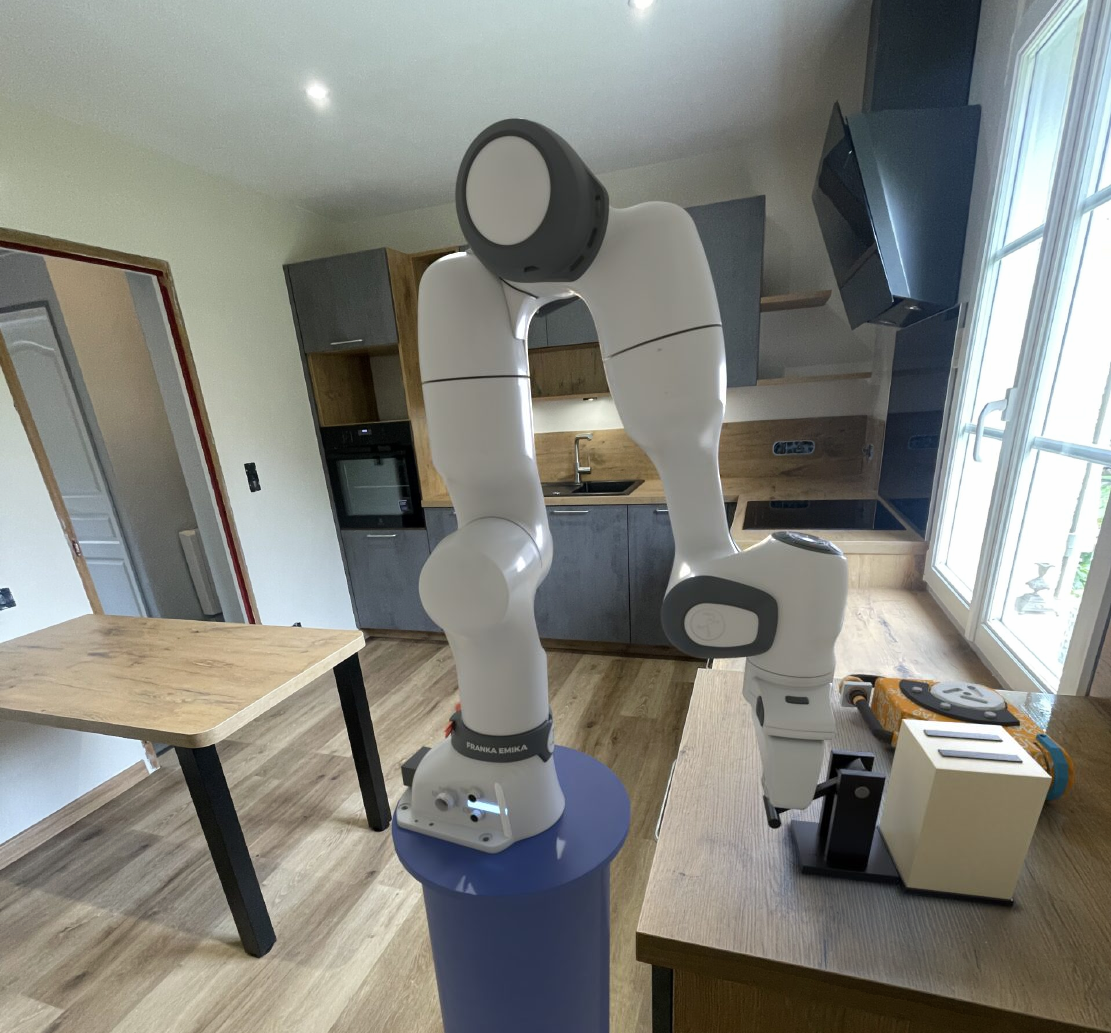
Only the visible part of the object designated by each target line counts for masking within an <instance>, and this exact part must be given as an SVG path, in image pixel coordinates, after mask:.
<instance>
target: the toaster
mask: <svg viewBox="0 0 1111 1033" xmlns="http://www.w3.org/2000/svg"><path fill="white" fill-rule="evenodd" d="M1051 780H1052V777H1051V776H1050V775H1049V774H1048V773H1047V772H1046V771H1045V770H1044V769H1043V768H1042V767H1041V766H1040V765H1039V764H1038V763H1037V762H1036V761H1035V760H1034V759H1033V758H1032V757H1031V756H1030V755H1029V754H1028V753H1027V752H1026V751H1025V750H1024V749H1023V748H1022V747H1021V746H1020V745H1019V744H1018V743H1017V742H1016V741H1015V740H1014V739H1013V738H1012V737H1011V736H1010V735H1009V734H1008V733H1007V732H1006V731H1005V730H1004V729H1003V728H1002V727H1001V726H997V725H982V724H967V723H952V722H938V721H923V720H908V719H902V723H901V727H900V732H899V737H898V741H897V746H896V749H895V751H894V755H893V759H892V764H891V770H890V774H889V779H888V783H887V788H886V793H885V798H884V802H883V807H882V812H881V815H880V821H879V824H876V827H875V829H878V831H879V833H880V835H881V838H882V840H883V842H884V844H885V846H886V849H887V851H888V853H889V855H890V857H891V860H892V862H893V864H894V866H895V868H896V871H897V873H898V875H899V880H898V883H899V885H900V887H901V889H902V891H903V893H904V894H906V895H913V896H921V897H930V898H938V899H946V900H947V899H948V900H953V901H954V900H955V901H962V902H970V903H978V904H986V905H995V906H1003V907H1013V906H1014V903H1015V900H1014V899H1013V896H1014V893H1015V891H1016V890H1015V889H1016V887H1017V884H1018V882H1019V879H1020V875H1021V872H1022V869H1023V866H1024V863H1025V860H1026V857H1027V854H1028V851H1029V848H1030V845H1031V843H1032V839H1033V837H1034V833H1035V830H1036V827H1037V824H1038V822H1039V818H1040V816H1041V813H1042V809H1043V806H1044V805H1045V801H1046V800H1045V798H1046V795H1047V792H1048V789H1049V786H1050V783H1051Z"/></svg>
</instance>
